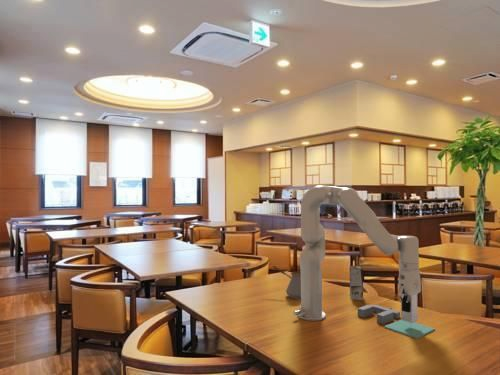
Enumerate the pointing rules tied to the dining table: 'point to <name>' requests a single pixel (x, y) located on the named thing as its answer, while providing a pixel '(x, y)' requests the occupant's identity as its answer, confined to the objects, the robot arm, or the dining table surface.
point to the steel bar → (413, 314)
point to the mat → (409, 328)
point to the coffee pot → (293, 284)
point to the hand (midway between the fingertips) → (409, 309)
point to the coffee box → (356, 282)
